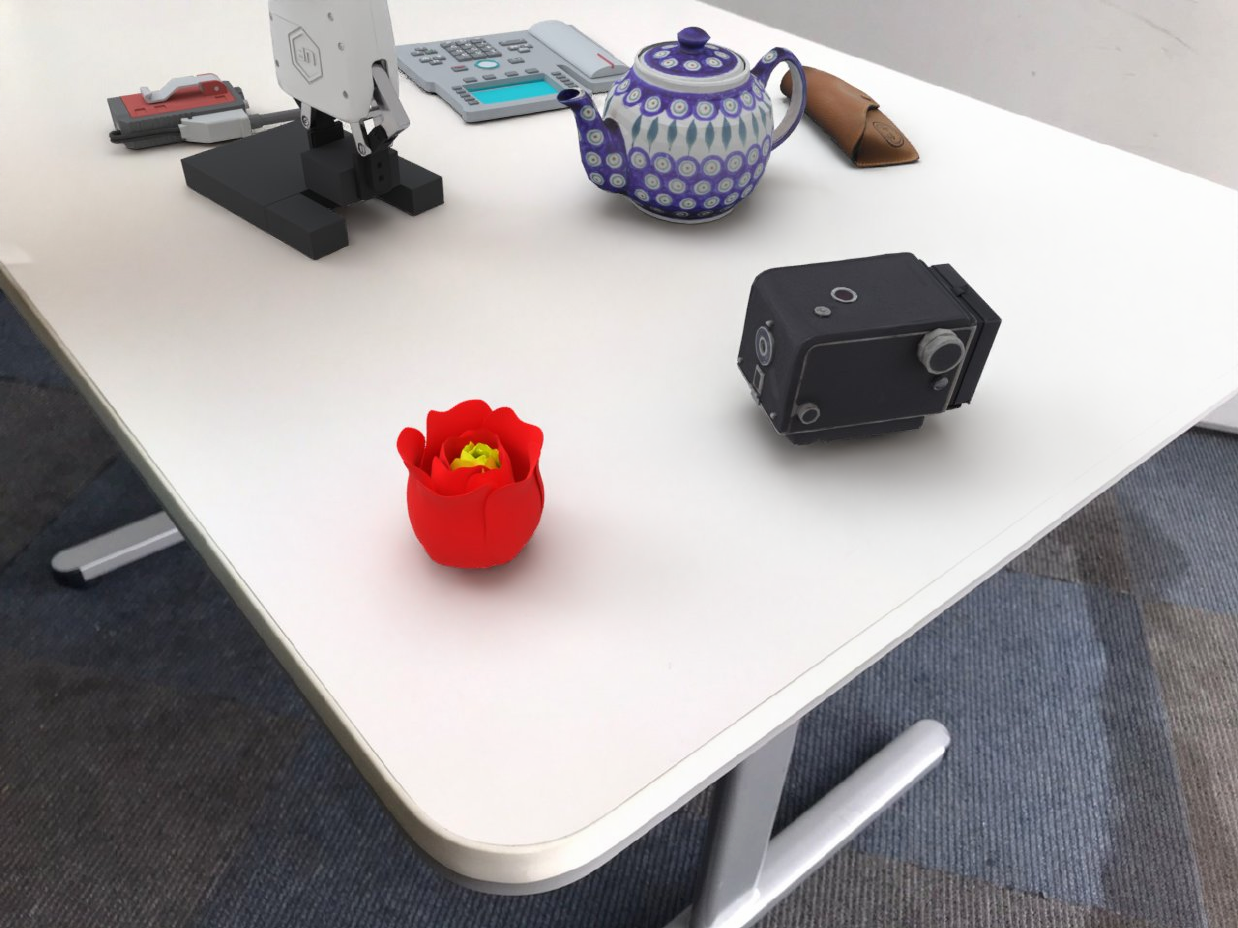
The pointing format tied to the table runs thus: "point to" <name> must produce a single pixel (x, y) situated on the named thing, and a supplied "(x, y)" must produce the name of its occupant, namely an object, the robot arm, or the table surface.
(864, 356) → the camera
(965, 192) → the table surface
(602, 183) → the teapot
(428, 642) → the table surface
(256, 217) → the big pad
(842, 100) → the sunglasses case
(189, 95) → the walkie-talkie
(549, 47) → the office telephone
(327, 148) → the small pad
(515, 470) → the flower
